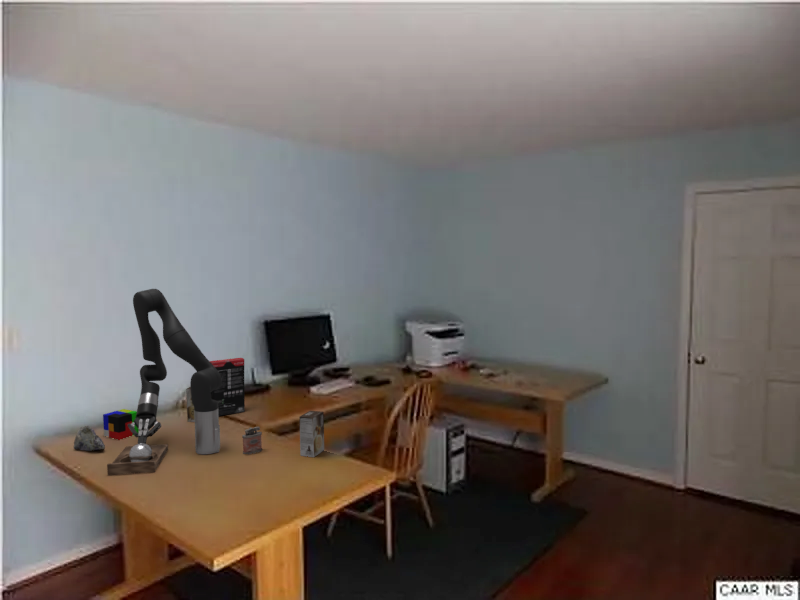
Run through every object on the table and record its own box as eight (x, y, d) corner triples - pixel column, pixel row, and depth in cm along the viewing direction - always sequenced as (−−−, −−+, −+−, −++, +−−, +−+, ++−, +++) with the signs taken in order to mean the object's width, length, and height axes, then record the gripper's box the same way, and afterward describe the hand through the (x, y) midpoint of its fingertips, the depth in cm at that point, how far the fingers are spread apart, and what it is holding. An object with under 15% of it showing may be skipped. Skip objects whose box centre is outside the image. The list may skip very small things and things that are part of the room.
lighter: (244, 455, 230) (244, 430, 230) (241, 453, 233) (240, 428, 232) (263, 451, 236) (263, 426, 235) (259, 448, 238) (259, 424, 237)
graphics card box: (240, 409, 297) (239, 356, 295) (246, 412, 292) (244, 358, 290) (207, 415, 286) (205, 360, 284) (213, 418, 281) (211, 362, 279)
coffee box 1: (211, 418, 281) (210, 385, 279) (204, 422, 274) (203, 388, 273) (193, 417, 282) (192, 385, 281) (186, 421, 276) (185, 388, 274)
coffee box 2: (310, 448, 239) (310, 410, 237) (324, 450, 237) (324, 411, 235) (299, 455, 230) (299, 416, 229) (314, 457, 228) (313, 417, 226)
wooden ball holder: (168, 450, 237) (167, 440, 237) (154, 472, 213) (154, 461, 213) (126, 452, 234) (125, 442, 234) (107, 475, 211) (107, 464, 210)
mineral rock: (106, 452, 234) (104, 428, 233) (75, 457, 229) (74, 432, 228) (102, 443, 245) (101, 420, 244) (73, 448, 239) (72, 424, 238)
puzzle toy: (104, 436, 254) (103, 414, 253) (124, 430, 263) (123, 408, 262) (119, 440, 249) (118, 417, 248) (139, 433, 258) (138, 411, 257)
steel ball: (152, 446, 219) (139, 465, 215) (159, 450, 226) (147, 470, 222) (134, 437, 220) (121, 457, 216) (141, 442, 227) (129, 461, 223)
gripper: (128, 402, 234) (120, 442, 223) (163, 401, 236) (157, 440, 225) (132, 412, 239) (125, 451, 228) (166, 410, 242) (161, 449, 231)
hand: (141, 445), depth 227 cm, fingers closed
